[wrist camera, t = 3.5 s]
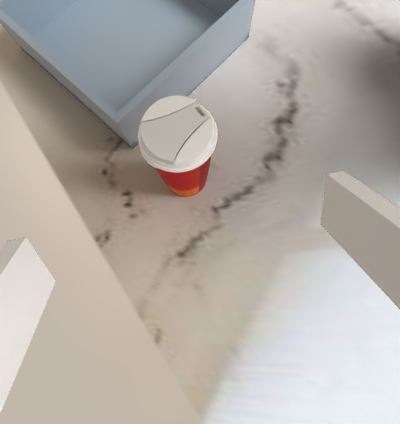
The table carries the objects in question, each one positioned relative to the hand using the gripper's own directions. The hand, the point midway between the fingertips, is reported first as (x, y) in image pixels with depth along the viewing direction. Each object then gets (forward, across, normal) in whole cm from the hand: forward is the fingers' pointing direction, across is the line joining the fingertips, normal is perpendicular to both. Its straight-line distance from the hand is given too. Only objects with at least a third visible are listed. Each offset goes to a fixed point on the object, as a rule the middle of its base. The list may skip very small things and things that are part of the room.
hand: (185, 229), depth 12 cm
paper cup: (+25, +1, -9) cm, 27 cm away
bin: (+42, -3, +8) cm, 43 cm away
